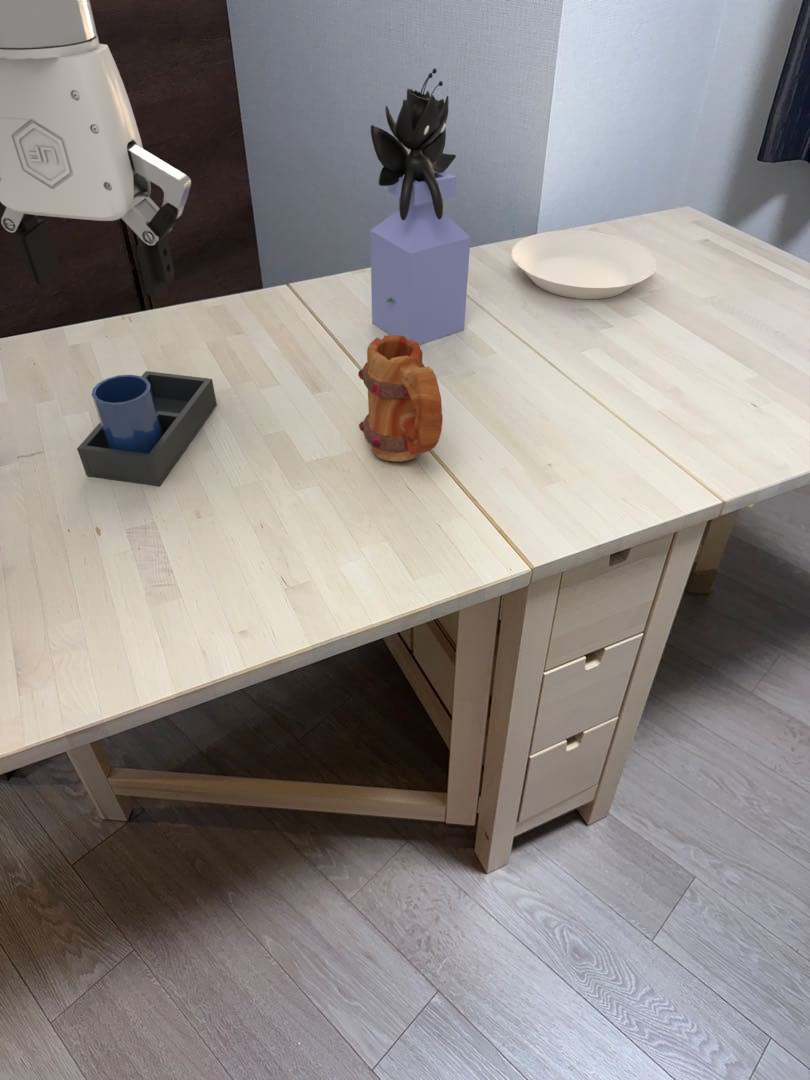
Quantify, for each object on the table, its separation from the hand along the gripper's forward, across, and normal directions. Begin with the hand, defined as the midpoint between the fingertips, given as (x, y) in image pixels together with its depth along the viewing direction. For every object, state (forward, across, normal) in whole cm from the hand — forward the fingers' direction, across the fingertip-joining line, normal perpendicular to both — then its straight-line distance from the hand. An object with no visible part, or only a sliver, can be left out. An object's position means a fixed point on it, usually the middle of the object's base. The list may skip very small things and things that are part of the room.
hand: (103, 283), depth 58 cm
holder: (+30, -12, +20) cm, 38 cm away
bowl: (+31, +40, +82) cm, 96 cm away
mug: (+31, +20, +22) cm, 43 cm away
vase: (+31, +15, +57) cm, 66 cm away
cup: (+30, -12, +16) cm, 36 cm away
